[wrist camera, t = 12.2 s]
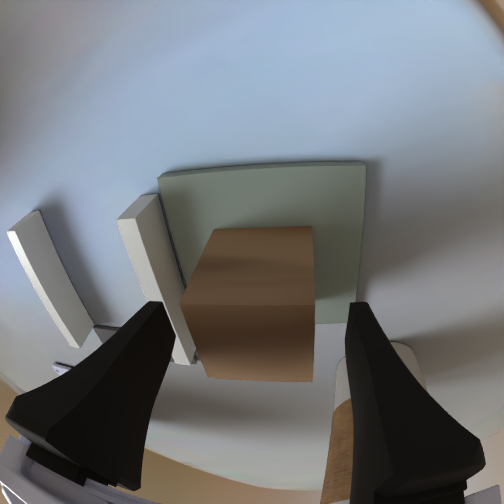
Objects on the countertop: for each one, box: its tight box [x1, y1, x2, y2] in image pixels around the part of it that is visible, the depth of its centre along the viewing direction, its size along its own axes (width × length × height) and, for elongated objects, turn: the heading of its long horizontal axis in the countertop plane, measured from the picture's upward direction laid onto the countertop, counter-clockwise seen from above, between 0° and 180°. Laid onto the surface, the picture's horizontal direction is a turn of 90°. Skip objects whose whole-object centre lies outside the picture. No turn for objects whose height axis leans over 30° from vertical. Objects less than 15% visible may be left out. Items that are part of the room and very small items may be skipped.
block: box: [179, 226, 315, 382], centre depth 13 cm, size 4×4×5 cm
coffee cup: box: [320, 342, 427, 504], centre depth 13 cm, size 8×8×15 cm
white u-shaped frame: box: [7, 194, 197, 365], centre depth 18 cm, size 13×10×2 cm
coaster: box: [157, 161, 366, 324], centre depth 15 cm, size 9×9×1 cm
